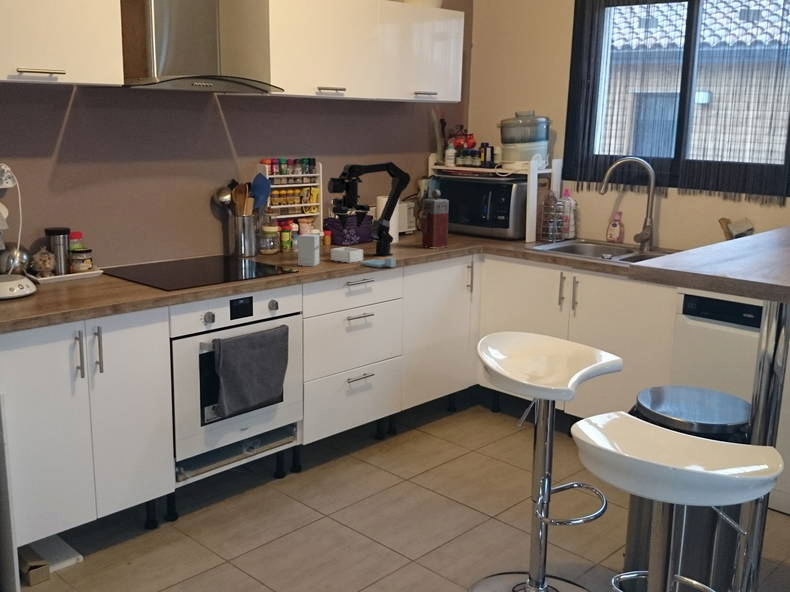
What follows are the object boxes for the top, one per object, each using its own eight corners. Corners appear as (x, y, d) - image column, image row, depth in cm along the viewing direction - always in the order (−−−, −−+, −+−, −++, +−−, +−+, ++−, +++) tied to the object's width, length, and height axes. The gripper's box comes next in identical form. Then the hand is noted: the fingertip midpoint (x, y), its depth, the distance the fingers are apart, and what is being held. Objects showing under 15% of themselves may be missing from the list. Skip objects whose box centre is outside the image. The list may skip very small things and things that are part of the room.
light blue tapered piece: (360, 265, 336) (360, 256, 336) (374, 263, 343) (374, 253, 342) (386, 270, 327) (386, 260, 327) (400, 267, 334) (400, 257, 333)
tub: (330, 260, 347) (330, 249, 346) (344, 258, 354) (344, 246, 353) (349, 263, 340) (349, 251, 339) (363, 260, 347) (363, 249, 346)
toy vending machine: (418, 247, 391) (419, 189, 385) (436, 245, 397) (437, 188, 391) (429, 249, 384) (431, 190, 378) (447, 247, 390) (449, 190, 384)
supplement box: (314, 266, 331) (314, 236, 329) (297, 265, 333) (297, 235, 330) (319, 263, 338) (319, 234, 336) (303, 263, 340) (302, 233, 337)
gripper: (352, 190, 363) (352, 225, 366) (323, 192, 349) (323, 228, 352) (370, 192, 356) (370, 227, 359) (341, 194, 342) (341, 230, 345)
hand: (351, 228), depth 354 cm, fingers open, 9 cm apart
